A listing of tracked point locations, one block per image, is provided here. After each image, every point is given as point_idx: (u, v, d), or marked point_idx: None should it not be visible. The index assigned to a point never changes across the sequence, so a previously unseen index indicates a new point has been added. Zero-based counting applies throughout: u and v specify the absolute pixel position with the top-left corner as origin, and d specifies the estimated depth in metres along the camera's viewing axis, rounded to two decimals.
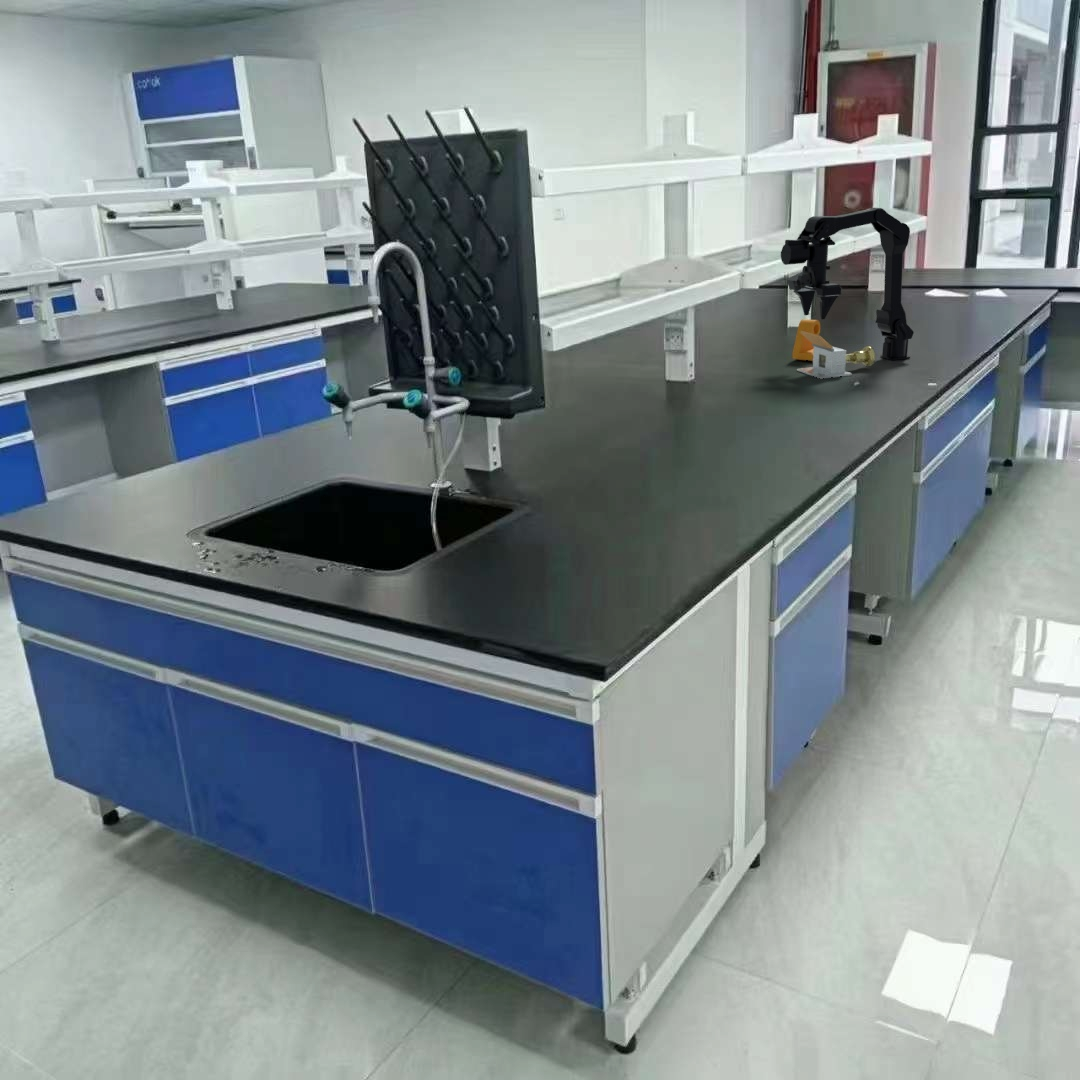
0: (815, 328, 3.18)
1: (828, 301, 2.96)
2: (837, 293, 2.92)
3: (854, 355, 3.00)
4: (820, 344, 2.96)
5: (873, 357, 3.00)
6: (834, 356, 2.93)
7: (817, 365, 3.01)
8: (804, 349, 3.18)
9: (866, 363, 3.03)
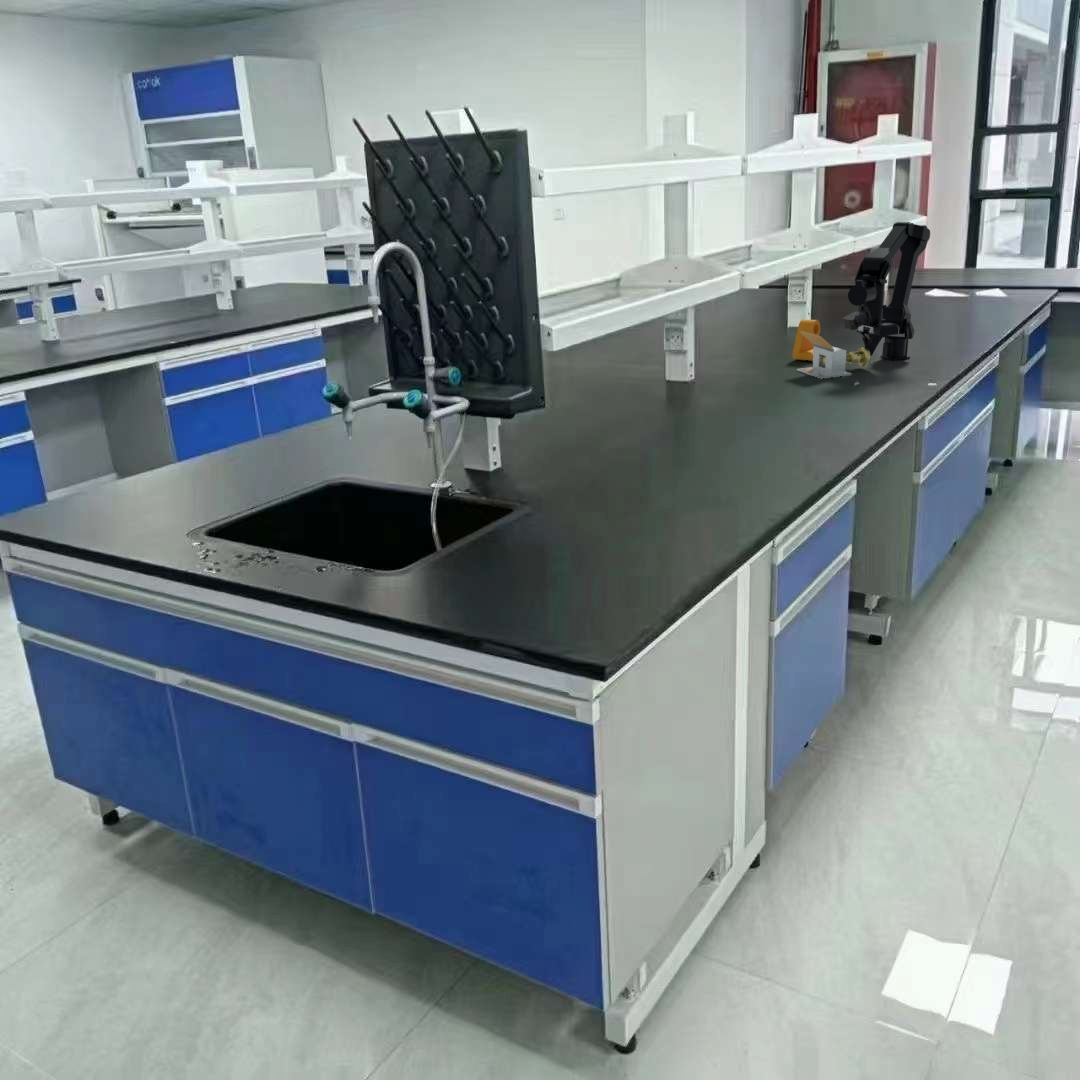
0: (815, 328, 3.18)
1: (876, 338, 2.99)
2: (894, 333, 2.91)
3: (849, 355, 2.99)
4: (820, 344, 2.96)
5: (868, 357, 2.99)
6: (834, 356, 2.93)
7: (817, 365, 3.01)
8: (804, 349, 3.18)
9: (861, 364, 3.02)
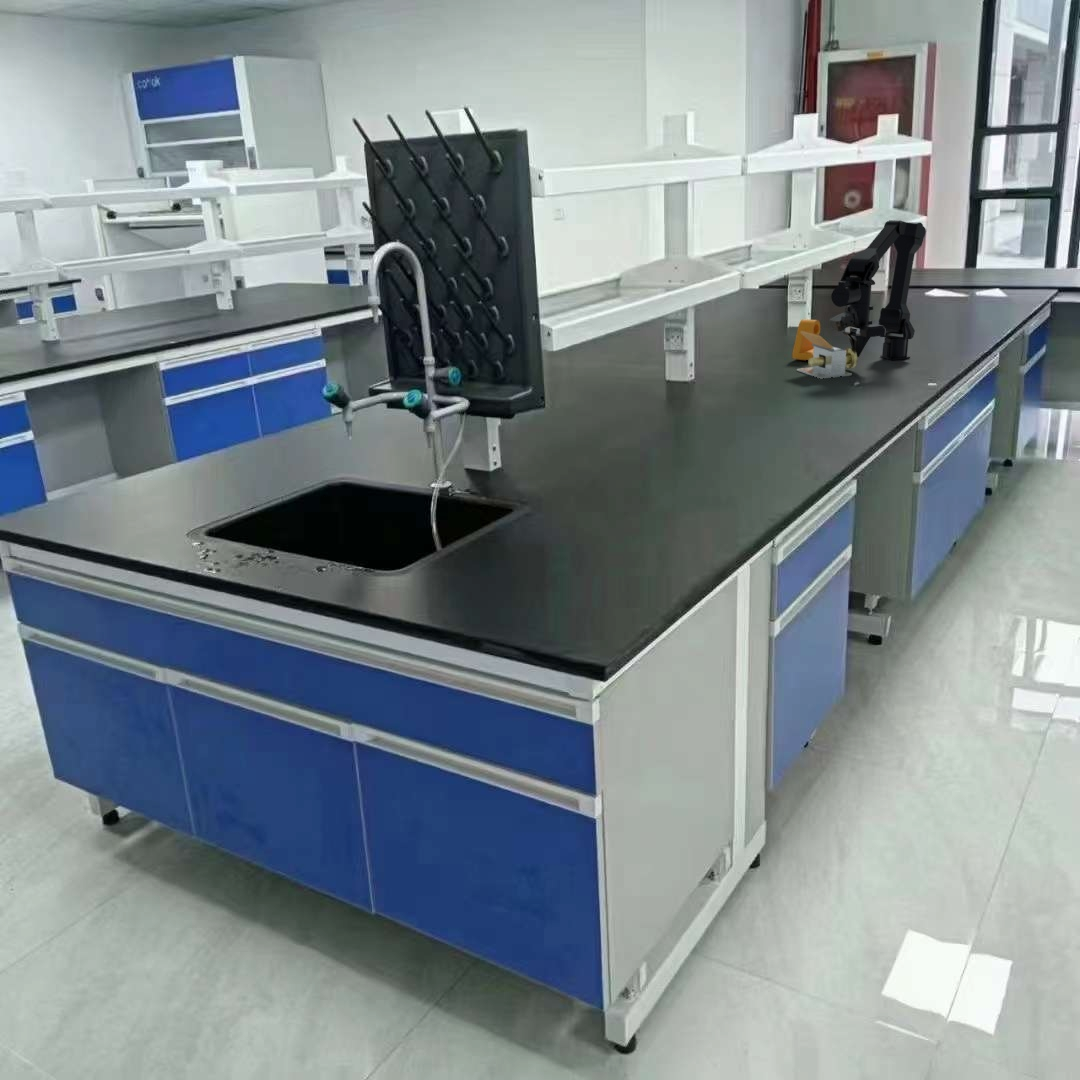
0: (815, 328, 3.18)
1: (862, 339, 2.98)
2: (881, 334, 2.90)
3: None
4: (820, 344, 2.96)
5: (855, 359, 2.98)
6: (834, 356, 2.93)
7: None
8: (804, 349, 3.18)
9: (848, 365, 3.01)
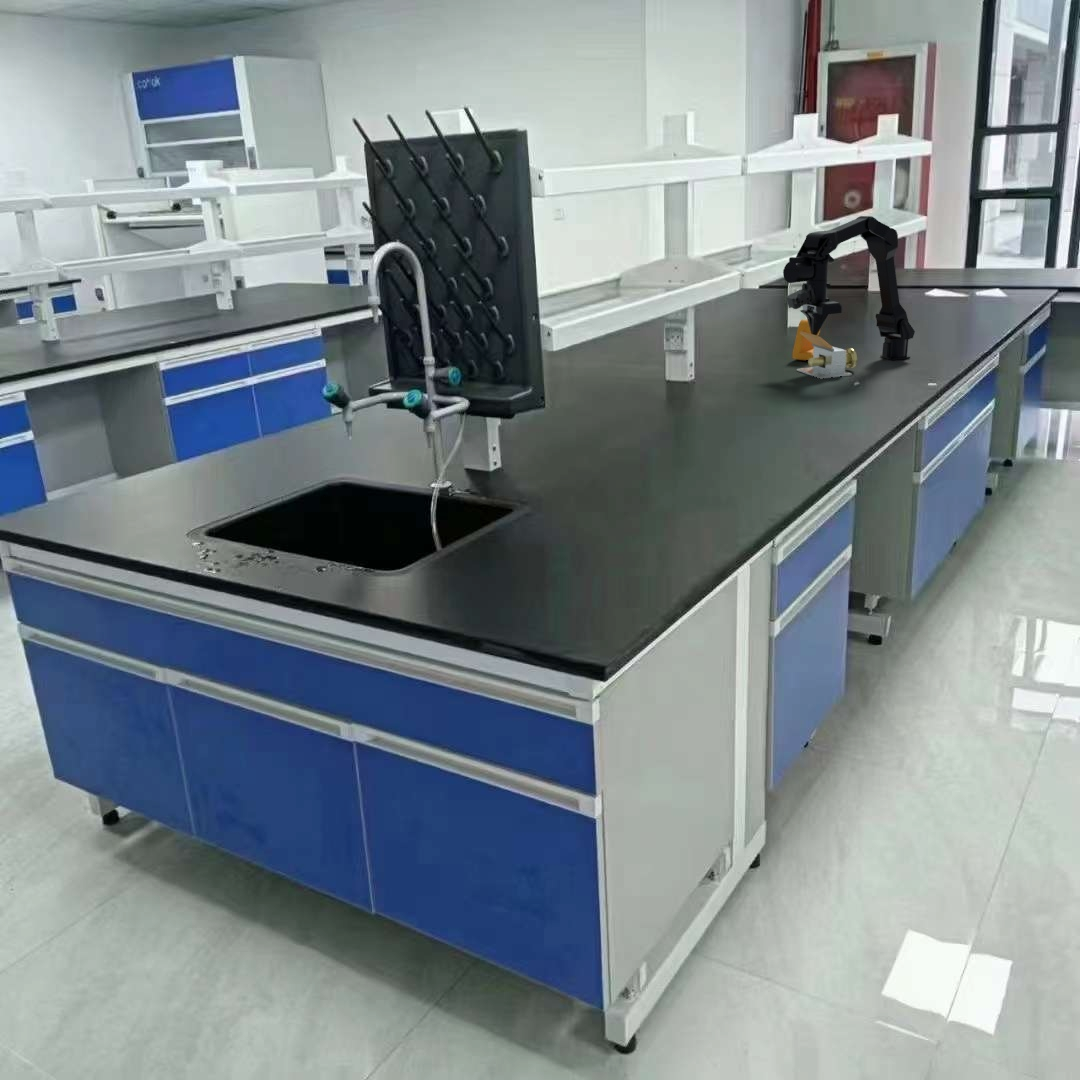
0: None
1: (820, 317, 2.92)
2: (837, 312, 2.84)
3: None
4: (820, 344, 2.96)
5: (855, 359, 2.98)
6: (834, 356, 2.93)
7: None
8: (804, 349, 3.18)
9: (848, 365, 3.01)
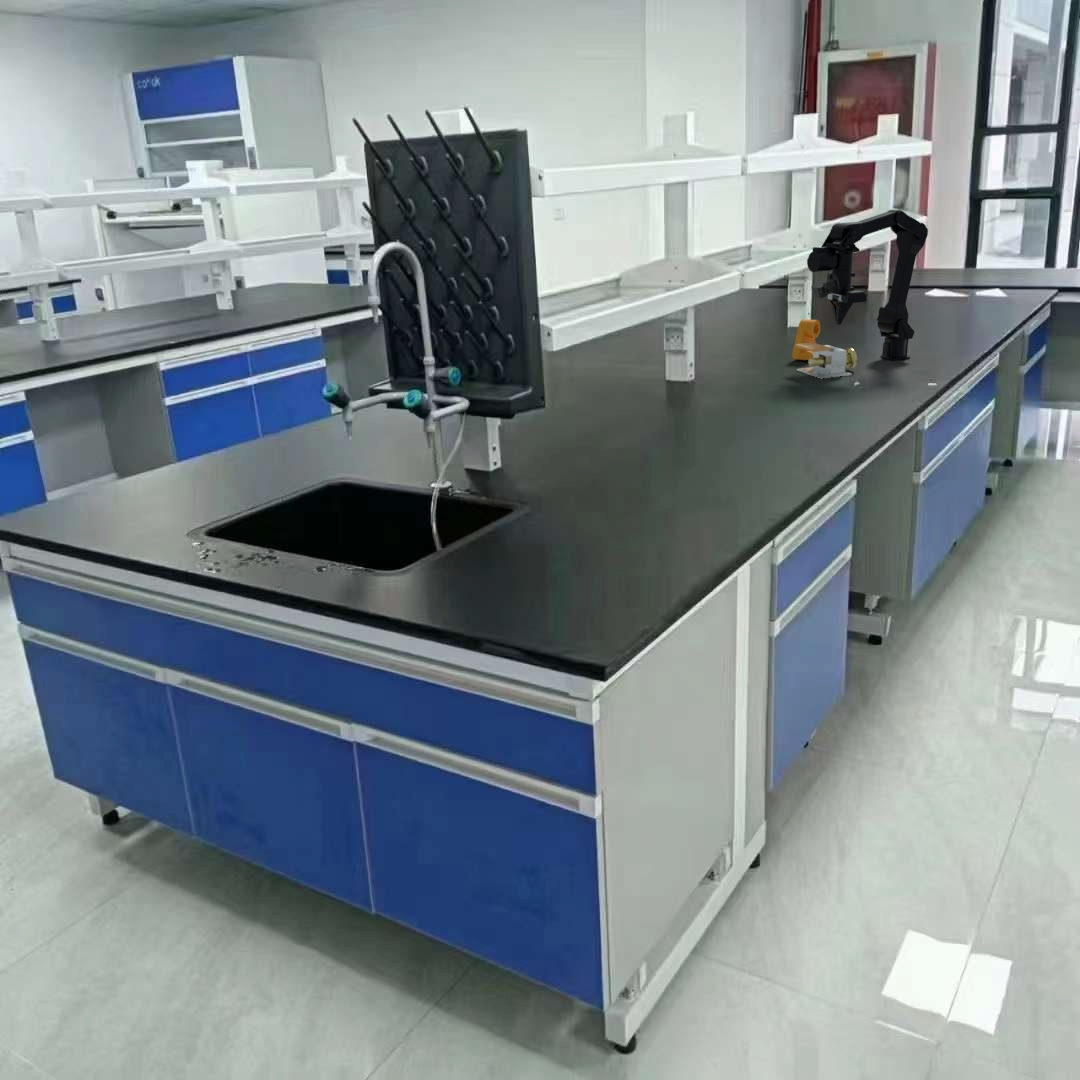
0: (815, 328, 3.18)
1: (844, 306, 3.00)
2: (862, 300, 2.92)
3: None
4: None
5: (855, 359, 2.98)
6: (834, 356, 2.93)
7: None
8: (804, 349, 3.18)
9: (848, 365, 3.01)
